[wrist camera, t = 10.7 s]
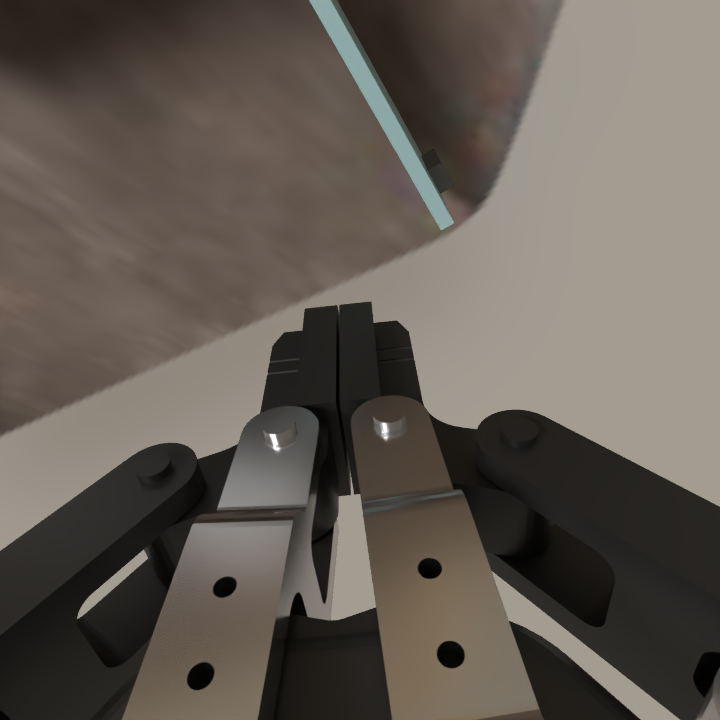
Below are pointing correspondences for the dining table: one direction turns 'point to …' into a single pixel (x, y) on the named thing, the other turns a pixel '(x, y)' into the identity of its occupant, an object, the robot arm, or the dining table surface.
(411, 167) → the door
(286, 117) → the dining table surface
